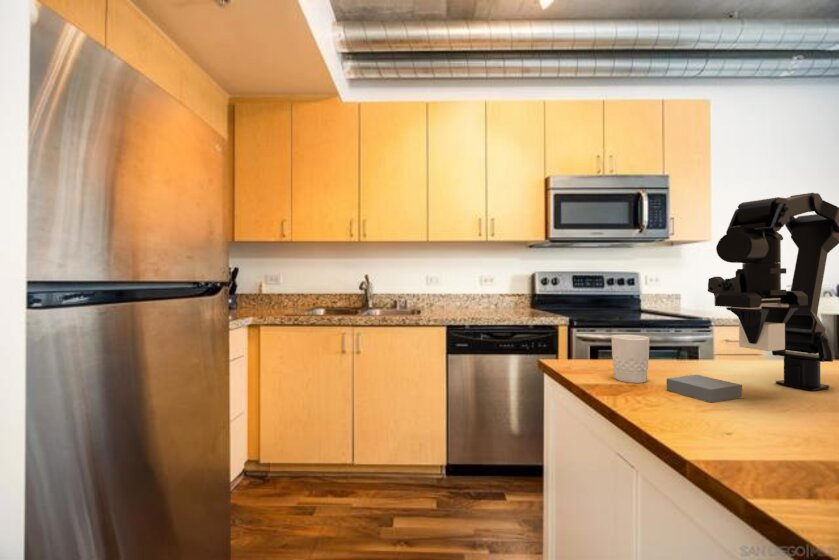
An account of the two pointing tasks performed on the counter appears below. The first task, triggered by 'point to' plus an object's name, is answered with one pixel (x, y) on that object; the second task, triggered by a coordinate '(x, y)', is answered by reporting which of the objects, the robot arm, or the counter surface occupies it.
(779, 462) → the counter surface
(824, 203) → the robot arm
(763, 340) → the cube
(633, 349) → the white cup
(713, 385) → the base
